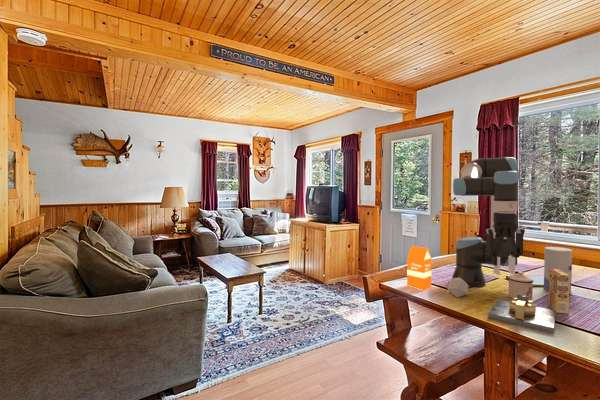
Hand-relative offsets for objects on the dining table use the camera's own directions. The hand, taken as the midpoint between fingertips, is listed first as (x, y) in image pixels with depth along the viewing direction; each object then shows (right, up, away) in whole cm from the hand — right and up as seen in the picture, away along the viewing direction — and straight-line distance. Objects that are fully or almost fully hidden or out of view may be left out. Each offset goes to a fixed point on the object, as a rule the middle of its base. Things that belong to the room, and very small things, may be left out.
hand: (504, 273), depth 117 cm
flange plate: (+7, -17, 0) cm, 18 cm away
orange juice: (-18, -16, +37) cm, 44 cm away
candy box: (+27, -16, +7) cm, 32 cm away
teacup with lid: (+21, -16, +21) cm, 34 cm away
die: (-5, -16, +24) cm, 30 cm away
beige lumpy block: (+6, -14, -1) cm, 16 cm away
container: (+45, -15, +30) cm, 56 cm away
